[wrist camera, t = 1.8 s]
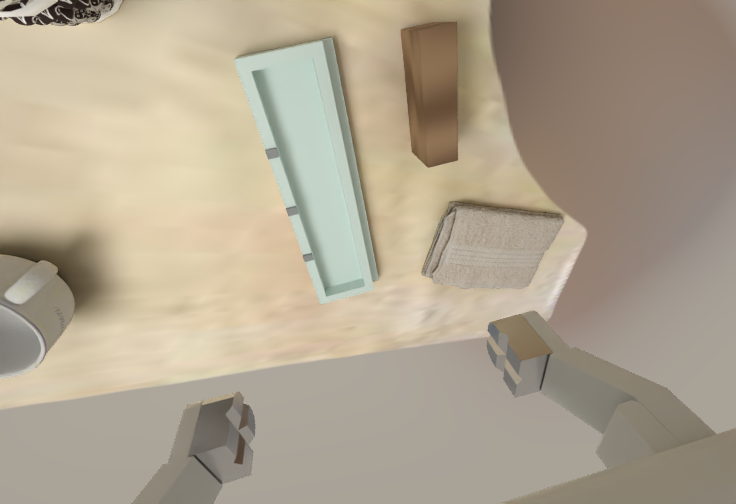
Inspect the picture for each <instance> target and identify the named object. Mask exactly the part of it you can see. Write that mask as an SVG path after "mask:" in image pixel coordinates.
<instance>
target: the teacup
mask: <svg viewBox="0 0 736 504" xmlns="http://www.w3.org/2000/svg"><path fill="white" fill-rule="evenodd" d="M57 272H58V268H57V267H56V266H55V265H53V264H52V263H50V262H48V261H44V260H42V261H39V262H38V263H36V262H33V261H30V260H28V259H24V258H20V257H16V256H11V255H3V254H0V379H1V378H10V377H15V376H19V375H22V374H25V373H27V372H29V371H31V370H33V369H34V368H36V367H37V366H38V365H39V364H40V363H41V362H42V361H43V359H44V357H45V355H46V353H47V352H48V351H49V350H50V348H51V347H52V346H53V345H54V344H55V342H56V341H57V340H58V338H59V337H60V336H61V335H62V333H63V332H64V330H65V329H66V327H67V326H68V324H69V323H70V321H71V319H72V317H73V314H74V310H75V300H74V297H73V294H72V292H71V290H70V288H69V287H68V285H67V284H66V283H65V282H64V281H63V280H62V279H61V278H60V277H59V276H58V275H57V274H56V273H57Z"/></svg>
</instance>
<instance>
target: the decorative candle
mask: <svg viewBox="0 0 736 504" xmlns="http://www.w3.org/2000/svg"><path fill="white" fill-rule="evenodd" d="M122 1H123V0H0V20H6V19H8V18H11V19H12V20H14V21H15V22H16V23H18V24H21V25H27V26H28V25H33V24H35V23H36V24H39V25H48V24H52V25H56V26H64V25H70V26H75V25H78V24H80V23H100V22H101V21H103V20H104V19H106V18H108V17H109V16H111V15H112V14H114V13H116V12H117V11H118V9H119V7H120V5H121V3H122Z"/></svg>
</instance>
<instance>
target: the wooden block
mask: <svg viewBox="0 0 736 504" xmlns="http://www.w3.org/2000/svg"><path fill="white" fill-rule="evenodd" d="M401 38H402V49H403V60H404V71H405V81H406V92H407V103H408V114H409V125H410V135H411V146H412V152H413V153H414V154H415V155H416V156H417V157H418V158H419V159H420V160H421V161H422V162H423V163H424V164H425V165H426V166H427V167H428V168H429V167H433V166H437V165H441V164H445V163H449V162H453V161H457V160H458V119H457V22H444V23H430V24H425V25H421V26H416V27H412V28H407V29H403V30H401Z"/></svg>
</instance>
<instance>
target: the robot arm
mask: <svg viewBox="0 0 736 504" xmlns="http://www.w3.org/2000/svg"><path fill="white" fill-rule="evenodd" d="M488 332H489V333H490V337H489V338H488V339H487V349H488V353H489V356H490V358H491V360H492V362H493V364H494V365H495V367H496V368H498V369H499V370H501V371H503V372H504V378H503V379H504V381H505V383H506V384H507V386H508V388H509V389H510V391H511V392H512V394H513V395H514V397H518V396H523V395H526V394H530V393H534V392H538V391H541V393H542V394H544V395H545V396H547V397H548V398H550V399H551V400H553V401H554V402H556V403H557V404H559V405H560V406H562V407H563V408H565V409H566V410H568V411H569V412H571V413H572V414H574V415H575V416H577V417H578V418H580V419H581V420H582V421H584V422H585V423H587V424H588V425H590V426H591V427H593V428H594V429H596V430H597V431H599V432H600V433H602V434H603V436H602V438H601V440H600V442H599V444H598V446H597V450H596V453H597V455H598V456H599V458H600V459H601V460H602V462H603V463H604V464H605V466H606V467H607V469H606V470H603V471H599V472H596V473H593V474H590V475H587V476H584V477H581V478H577V479H574V480H571V481H568V482H565V483H562V484H558V485H556V486H552V487H549V488H546V489H543V490H540V491H537V492H533V493H530V494H527V495H524V496H521V497H518V498H514V499H511V500H508V501H505V502H502V503H499V504H736V428H735V429H732V430H729V431H725V432H722V433H719V434H716V433H715V432H714V431H713V430H712V429H711V428H710V427H709V426H707V425H706V424H705V423H704V422H703V421H702V420H701V419H700V418H699V417H697V415H696V414H694V413H693V412H692V411H691V410H690V409H689V408H688V407H687V406H686V405H685V404H683V402H681V401H680V400H679V399H678V398H677V397H676V396H675V395H673V393H672V392H671V391H670V390H668V389H667V388H665V387H663V386H661V385H659V384H656V383H654V382H652V381H650V380H647V379H645V378H643V377H641V376H638V375H636V374H634V373H632V372H629V371H627V370H625V369H623V368H620V367H618V366H616V365H614V364H612V363H609V362H607V361H605V360H603V359H600V358H598V357H596V356H594V355H592V354H589V353H587V352H585V351H583V350H580V349H578V348H576V347H574V348H570V347H569V346H568V345H567V344H566V343H565V342H564V341H563V340H562V338H561V337H560V336H559V335H557V333H556V332H555V331H554V330H553V329H552V328H551V327H550V325H549V324H548V323H547V322H546V321H545V320H544V319H543V318H542V317H541V316H540V315H539V314H538V313H537V312H536V311H530V312H526V313H523V314H519V315H514V316H511V317H507V318H504V319H500V320H497V321H493V322H490V323H489V325H488ZM243 400H244V397H243V396H242V394H241V393H240V392H236V393H232V394H228V395H224V396H220V397H216V398H212V399H208V400H204V401H200V402H196V403H192V404H189V405H187V406H186V408H185V409H184V411H183V414H182V417H181V421H180V424H179V427H178V431H177V434H176V438H175V441H174V444H173V448H172V451H171V455H170V458H169V462H168V463H166V464H163V465H162V466H161V468H160V469H159V470H158V471H157V473H156V474H155V475H154V476H153V478H152V479H151V480H150V481H149V483H148V484H147V485H146V486H145V488H144V489H143V490H142V491H141V493H140V494H139V495H138V496H137V498H136V499H135V500H134V501H133V503H132V504H213V503H214V501H215V499H216V497H217V496H218V494H219V492H220V490H221V488H222V484H224V483H228V482H231V481H234V480H237V479H240V478H243V477H246V476H249V475H251V469H252V459H253V450H252V449H251V448H250V446H249V444H250V442H251V441H252V439H253V438H254V436H255V419H254V414H253V411H252V409H251V408H250V406H249V405H246V404H243Z"/></svg>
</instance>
